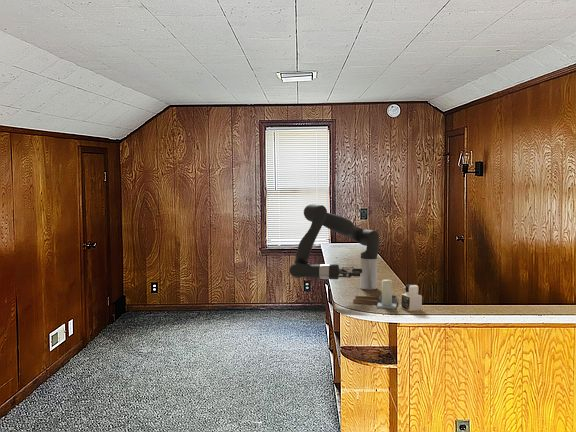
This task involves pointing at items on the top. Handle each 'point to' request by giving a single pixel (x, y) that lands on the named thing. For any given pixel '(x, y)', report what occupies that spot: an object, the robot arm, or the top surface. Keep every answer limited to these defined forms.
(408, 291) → the medicine bottle
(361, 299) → the walnut channel
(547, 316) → the top surface
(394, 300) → the charcoal pit
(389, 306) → the slate-blue platform
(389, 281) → the sage canister
